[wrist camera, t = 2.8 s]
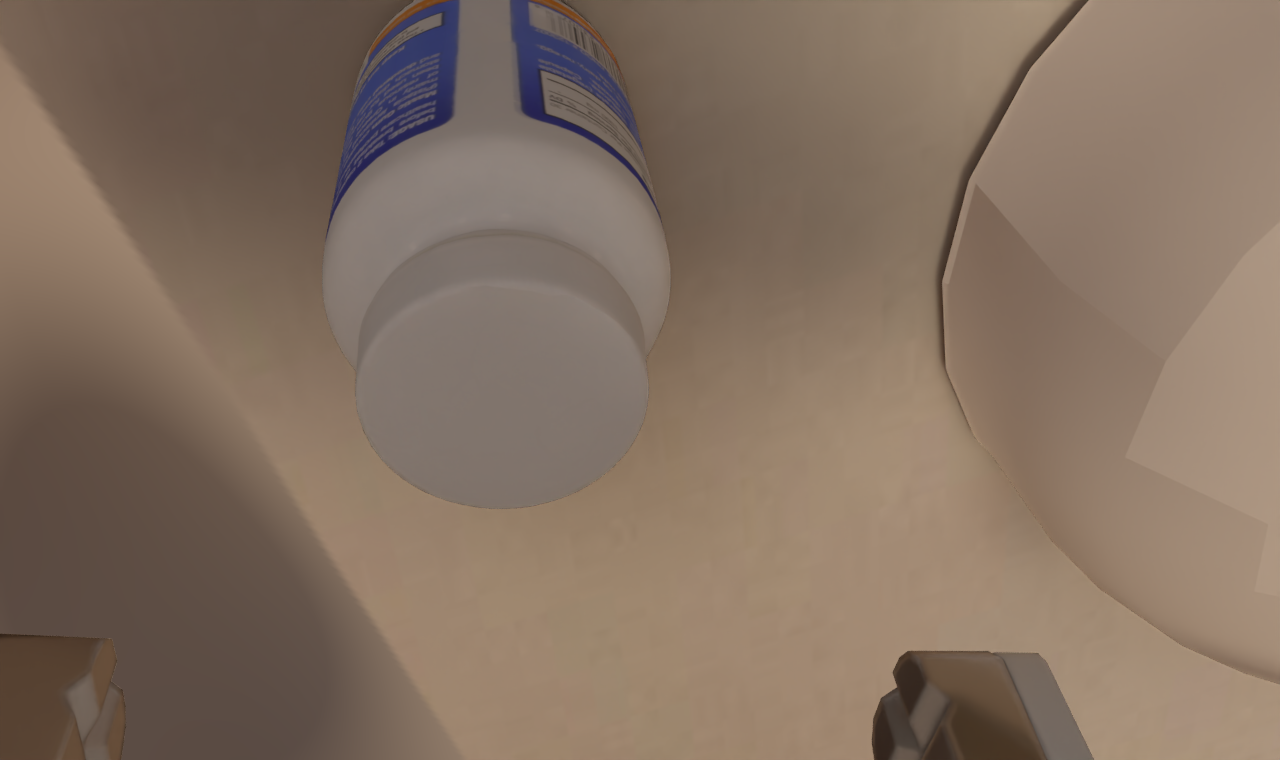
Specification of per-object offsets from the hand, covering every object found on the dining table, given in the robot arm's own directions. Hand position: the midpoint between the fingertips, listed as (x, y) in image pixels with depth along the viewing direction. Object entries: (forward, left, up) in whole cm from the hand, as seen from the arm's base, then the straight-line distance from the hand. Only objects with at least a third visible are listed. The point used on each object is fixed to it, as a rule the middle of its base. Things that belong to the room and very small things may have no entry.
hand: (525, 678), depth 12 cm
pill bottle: (0, 0, -14) cm, 14 cm away
